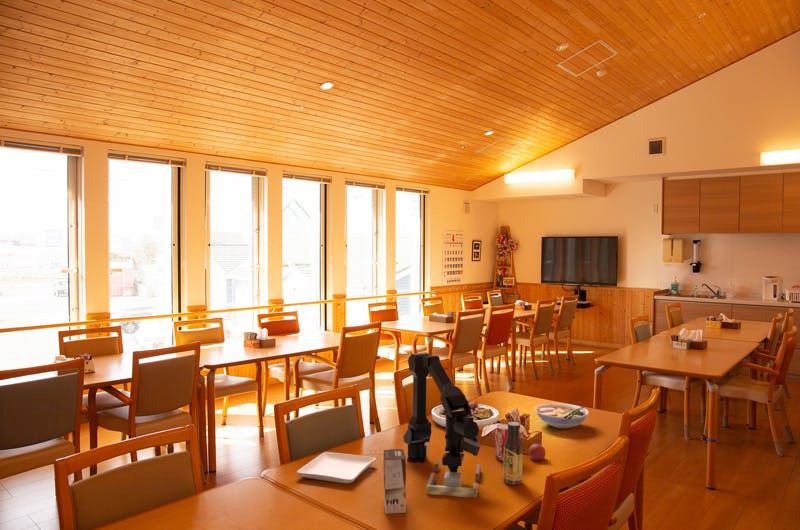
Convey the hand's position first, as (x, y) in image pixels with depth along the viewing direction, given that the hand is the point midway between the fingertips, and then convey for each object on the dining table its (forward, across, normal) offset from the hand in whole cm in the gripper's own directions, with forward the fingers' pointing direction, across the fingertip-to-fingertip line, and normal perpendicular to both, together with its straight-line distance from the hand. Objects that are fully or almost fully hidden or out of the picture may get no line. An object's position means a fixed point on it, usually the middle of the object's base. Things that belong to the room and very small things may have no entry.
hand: (454, 477), depth 189 cm
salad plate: (+3, +3, +41) cm, 41 cm away
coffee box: (+2, -20, +16) cm, 26 cm away
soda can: (+2, +27, -16) cm, 31 cm away
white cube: (+2, -4, 0) cm, 5 cm away
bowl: (+3, +71, +2) cm, 71 cm away
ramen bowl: (+2, +71, -40) cm, 81 cm away
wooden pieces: (+2, +2, 0) cm, 3 cm away
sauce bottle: (+2, +5, -19) cm, 20 cm away
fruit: (+2, +28, -27) cm, 39 cm away
